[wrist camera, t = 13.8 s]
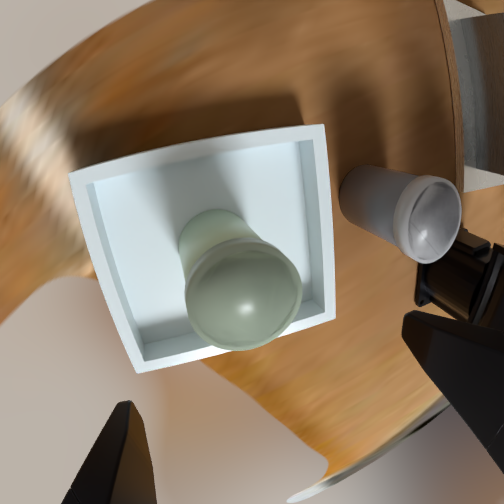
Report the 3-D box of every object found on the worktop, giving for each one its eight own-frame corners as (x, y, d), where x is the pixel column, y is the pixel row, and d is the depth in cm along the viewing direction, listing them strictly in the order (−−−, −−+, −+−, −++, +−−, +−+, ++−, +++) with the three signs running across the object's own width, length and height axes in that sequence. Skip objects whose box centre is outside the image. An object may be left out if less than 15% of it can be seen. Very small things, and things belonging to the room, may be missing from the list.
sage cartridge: (259, 271, 21) (305, 332, 14) (185, 290, 20) (202, 362, 13) (248, 197, 19) (297, 232, 12) (166, 216, 18) (173, 262, 11)
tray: (319, 301, 24) (335, 318, 21) (137, 350, 21) (136, 373, 18) (304, 124, 19) (323, 123, 16) (79, 168, 16) (68, 173, 14)
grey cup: (390, 221, 23) (458, 252, 17) (338, 234, 22) (402, 273, 16) (389, 158, 21) (462, 174, 15) (333, 165, 20) (405, 183, 14)
